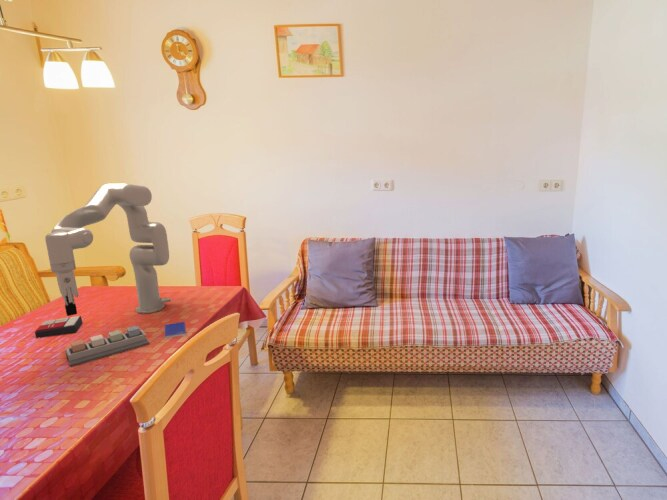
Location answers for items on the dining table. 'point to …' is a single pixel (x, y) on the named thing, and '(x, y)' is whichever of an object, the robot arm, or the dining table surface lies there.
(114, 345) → the keypad
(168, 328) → the hard drive
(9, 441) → the dining table surface
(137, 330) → the key
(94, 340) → the key
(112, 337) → the key
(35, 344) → the dining table surface
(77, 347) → the key
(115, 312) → the dining table surface
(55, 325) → the calculator
